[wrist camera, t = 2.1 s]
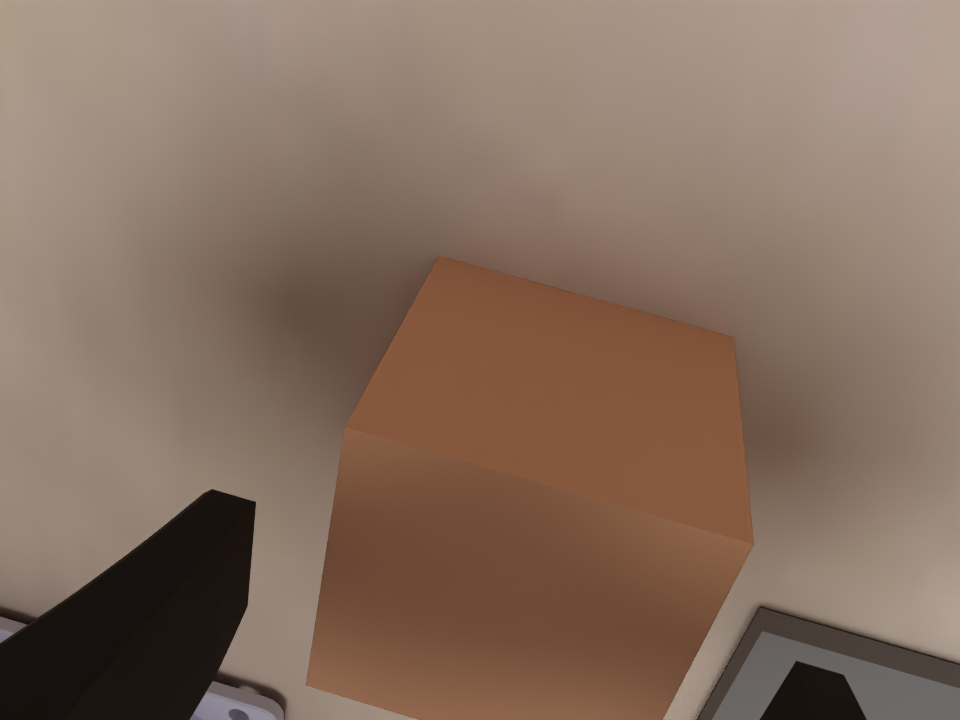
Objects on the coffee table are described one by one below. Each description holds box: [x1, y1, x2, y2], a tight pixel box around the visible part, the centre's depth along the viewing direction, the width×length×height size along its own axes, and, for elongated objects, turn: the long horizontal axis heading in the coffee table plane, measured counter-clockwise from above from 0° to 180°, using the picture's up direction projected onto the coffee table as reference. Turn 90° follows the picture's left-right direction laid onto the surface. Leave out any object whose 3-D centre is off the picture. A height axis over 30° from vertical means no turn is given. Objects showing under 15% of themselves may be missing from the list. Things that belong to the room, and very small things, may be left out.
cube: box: [306, 256, 754, 720], centre depth 14 cm, size 5×5×5 cm
